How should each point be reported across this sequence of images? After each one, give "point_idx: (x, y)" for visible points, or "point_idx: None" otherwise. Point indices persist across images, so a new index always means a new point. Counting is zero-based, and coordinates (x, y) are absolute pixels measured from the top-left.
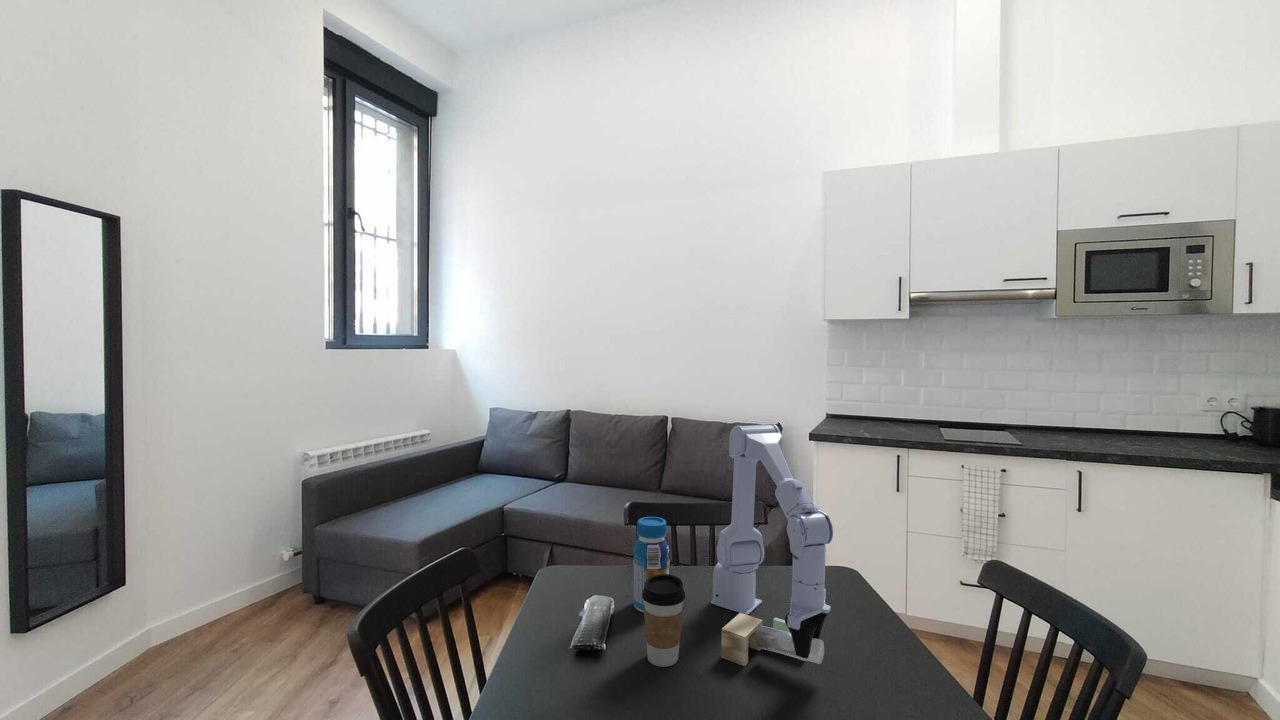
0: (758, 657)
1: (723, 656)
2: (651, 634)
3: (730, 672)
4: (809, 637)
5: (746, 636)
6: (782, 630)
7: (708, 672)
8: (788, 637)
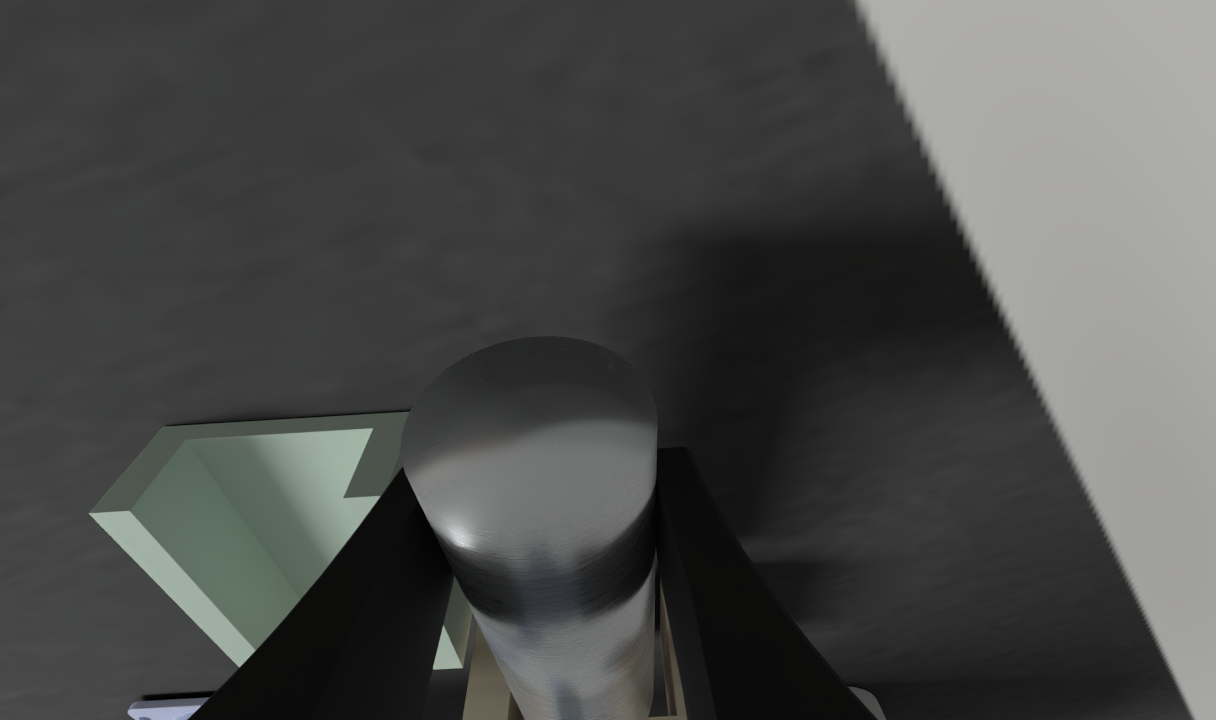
0: None
1: None
2: None
3: (781, 578)
4: (867, 709)
5: None
6: (278, 597)
7: (828, 618)
8: (615, 663)
